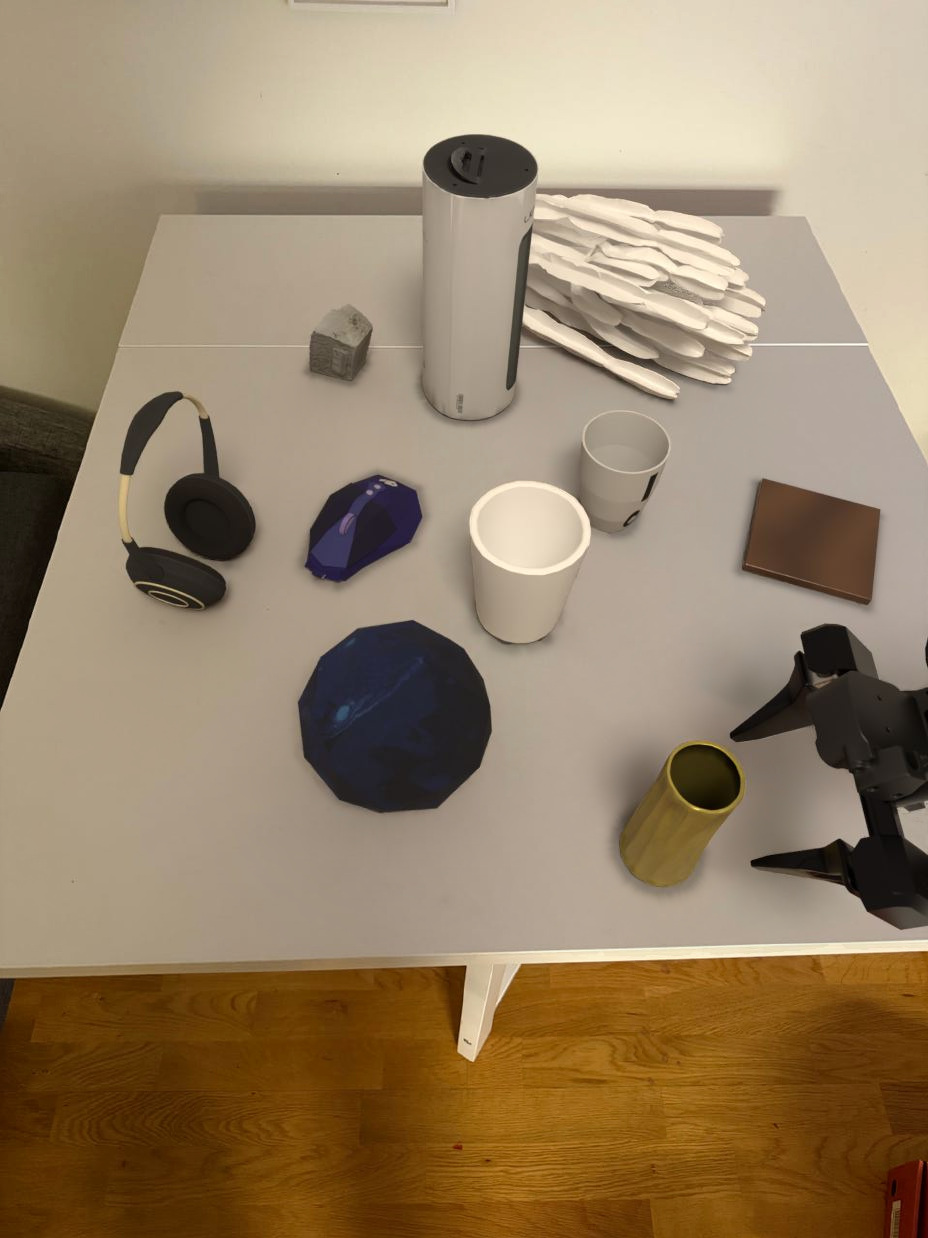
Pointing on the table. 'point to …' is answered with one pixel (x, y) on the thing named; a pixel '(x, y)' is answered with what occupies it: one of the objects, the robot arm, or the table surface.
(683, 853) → the vase
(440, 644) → the decorative orb
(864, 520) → the serving board
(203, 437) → the headphones
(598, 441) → the cup
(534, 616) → the cup
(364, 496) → the computer mouse
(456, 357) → the speaker
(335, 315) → the grey stone block
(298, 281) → the table surface
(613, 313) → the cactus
